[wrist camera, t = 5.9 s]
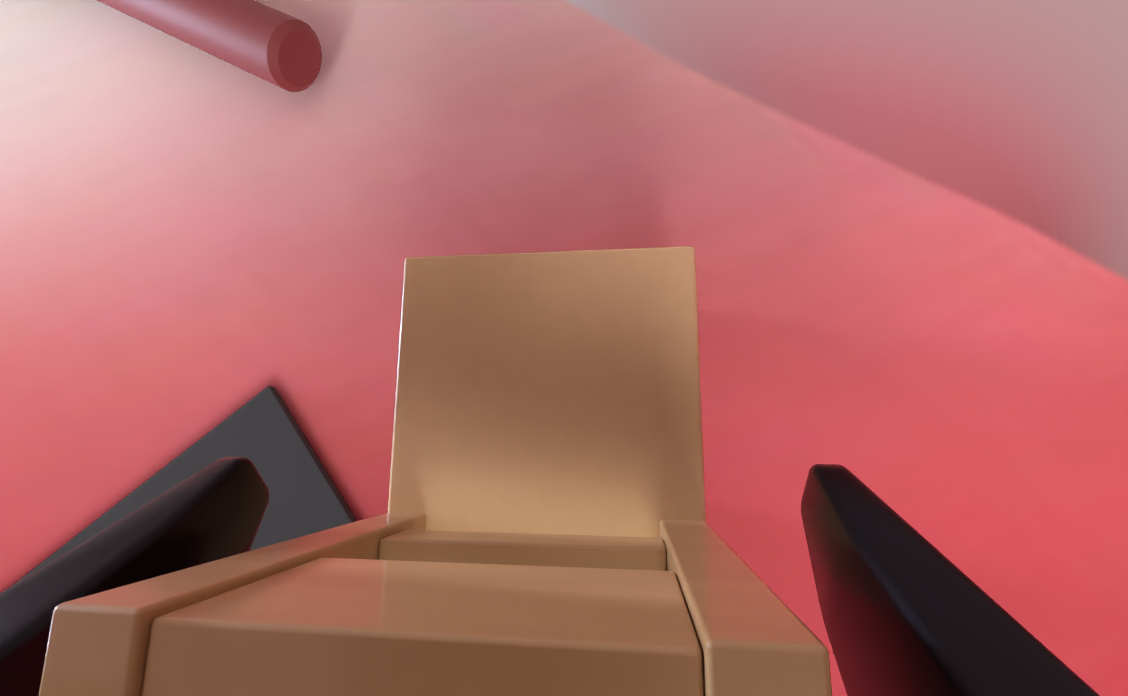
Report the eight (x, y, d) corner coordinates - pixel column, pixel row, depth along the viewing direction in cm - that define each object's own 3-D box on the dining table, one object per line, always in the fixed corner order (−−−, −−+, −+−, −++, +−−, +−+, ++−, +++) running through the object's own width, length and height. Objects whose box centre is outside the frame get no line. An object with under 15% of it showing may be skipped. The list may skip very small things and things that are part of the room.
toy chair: (683, 528, 15) (842, 787, 4) (459, 522, 16) (29, 716, 4) (675, 305, 16) (778, -18, 5) (469, 310, 17) (148, 45, 6)
